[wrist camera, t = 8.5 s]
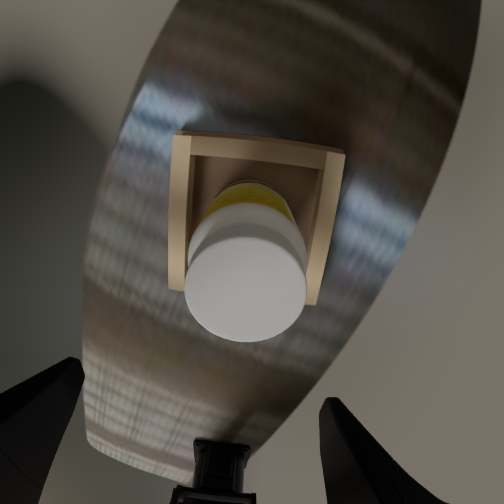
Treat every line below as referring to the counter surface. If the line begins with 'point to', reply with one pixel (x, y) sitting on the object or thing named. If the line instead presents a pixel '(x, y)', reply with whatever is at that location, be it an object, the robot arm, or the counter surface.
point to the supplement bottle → (246, 265)
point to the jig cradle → (258, 169)
